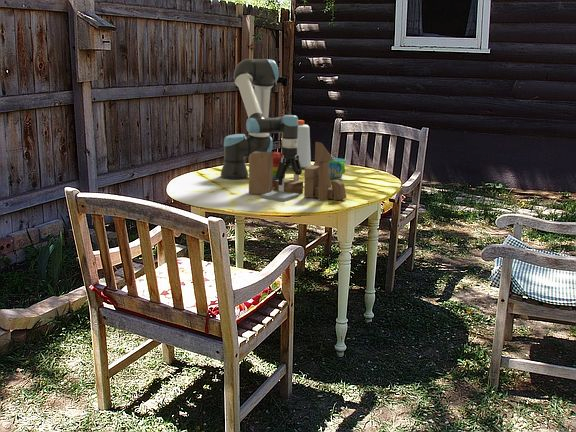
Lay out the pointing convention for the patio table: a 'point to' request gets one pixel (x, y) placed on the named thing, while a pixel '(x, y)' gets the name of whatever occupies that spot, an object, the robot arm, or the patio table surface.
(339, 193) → the wooden blocks
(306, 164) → the plastic bottle
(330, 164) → the snack cup
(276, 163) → the stacking bear
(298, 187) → the walnut brick
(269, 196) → the plate
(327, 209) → the patio table surface
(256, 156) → the wooden block
